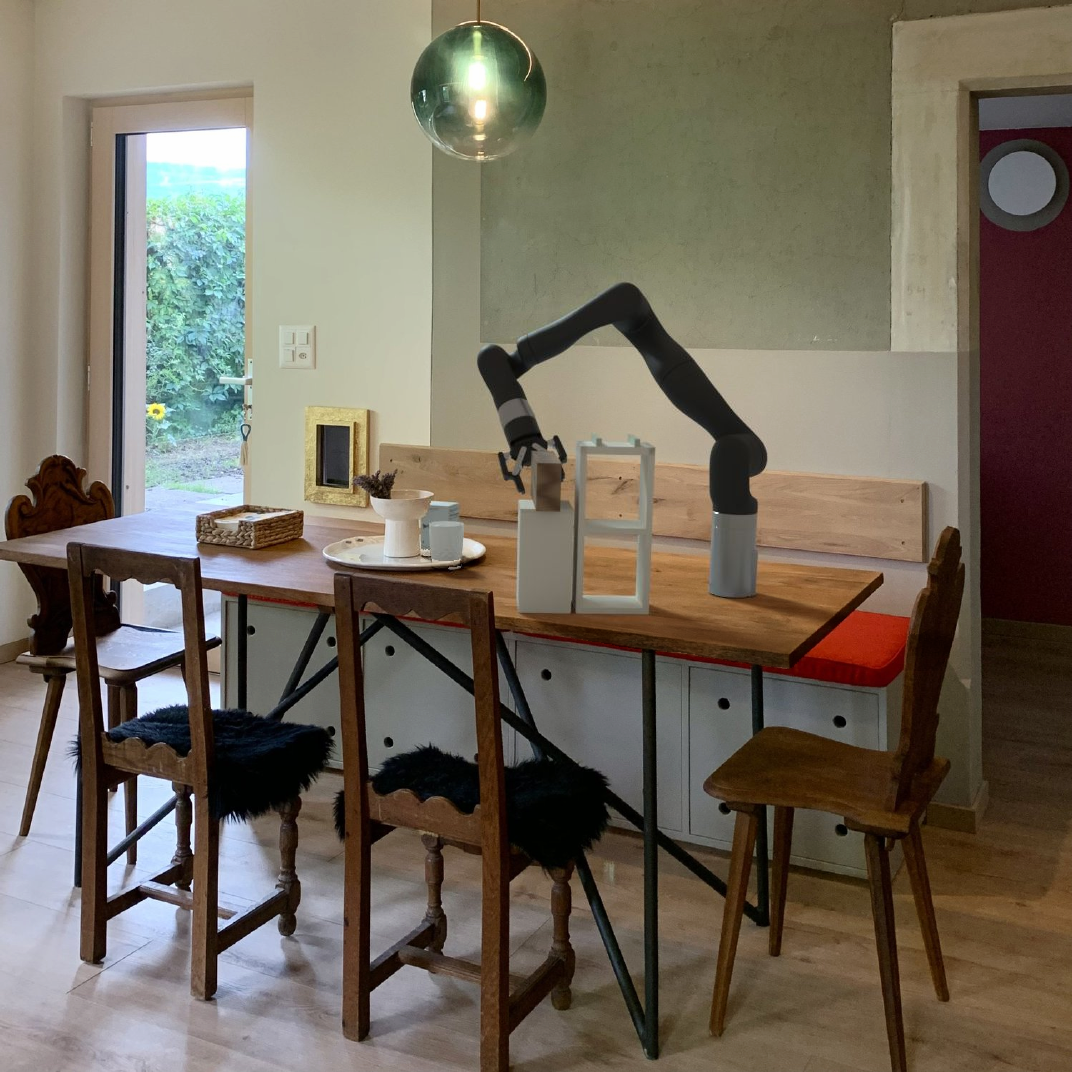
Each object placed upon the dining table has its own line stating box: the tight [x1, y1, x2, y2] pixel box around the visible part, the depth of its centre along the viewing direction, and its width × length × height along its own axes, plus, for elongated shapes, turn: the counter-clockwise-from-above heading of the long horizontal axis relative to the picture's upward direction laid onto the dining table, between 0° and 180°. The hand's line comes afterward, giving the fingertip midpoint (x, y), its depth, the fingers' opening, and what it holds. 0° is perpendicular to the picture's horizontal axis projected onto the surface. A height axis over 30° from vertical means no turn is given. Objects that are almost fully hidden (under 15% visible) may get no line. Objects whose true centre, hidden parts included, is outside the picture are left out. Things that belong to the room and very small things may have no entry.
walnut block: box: [530, 450, 563, 512], centre depth 233 cm, size 4×24×9 cm, turn 3°
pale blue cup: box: [429, 521, 465, 571], centre depth 270 cm, size 8×8×10 cm
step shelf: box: [516, 433, 656, 615], centre depth 232 cm, size 25×13×34 cm, turn 93°
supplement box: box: [420, 500, 460, 550], centre depth 285 cm, size 7×7×13 cm
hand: (542, 486), depth 253 cm, fingers open, 8 cm apart
